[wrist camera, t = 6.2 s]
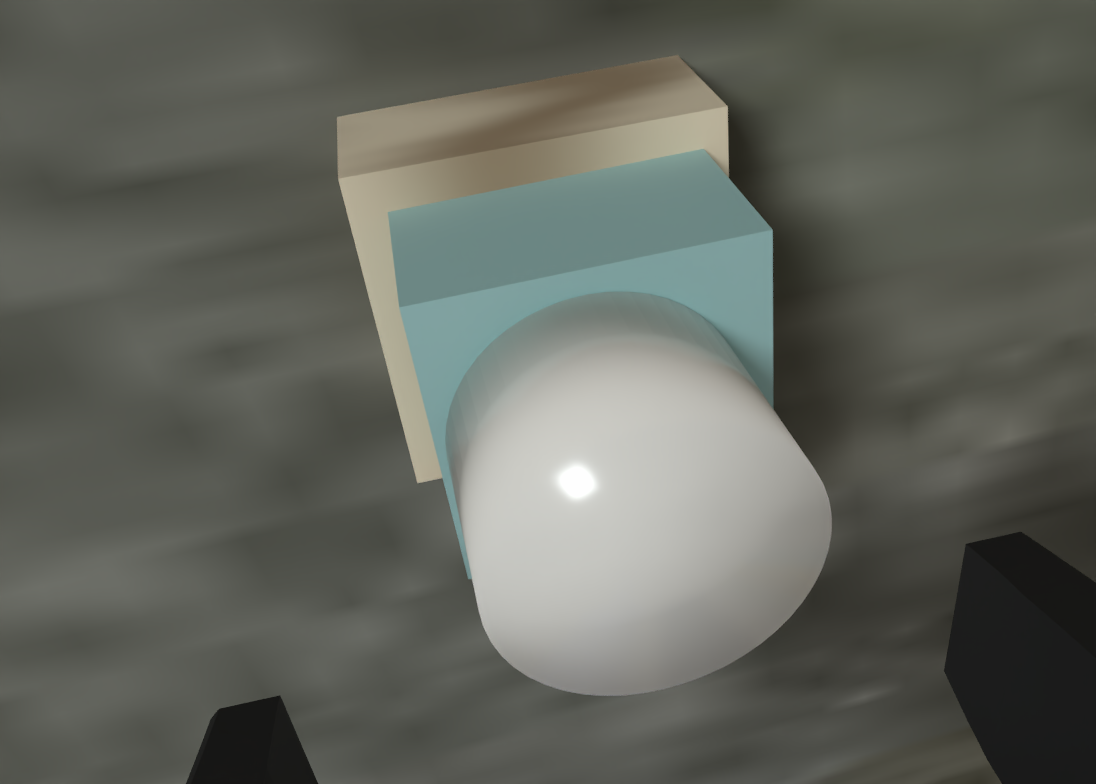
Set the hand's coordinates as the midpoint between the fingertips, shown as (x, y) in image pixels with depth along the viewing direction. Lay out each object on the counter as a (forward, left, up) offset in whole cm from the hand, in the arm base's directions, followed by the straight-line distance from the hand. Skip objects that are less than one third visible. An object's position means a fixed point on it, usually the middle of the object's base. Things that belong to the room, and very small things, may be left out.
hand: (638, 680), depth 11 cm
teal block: (-1, 0, -8) cm, 8 cm away
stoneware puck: (0, 0, -5) cm, 5 cm away
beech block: (0, 0, -11) cm, 11 cm away
